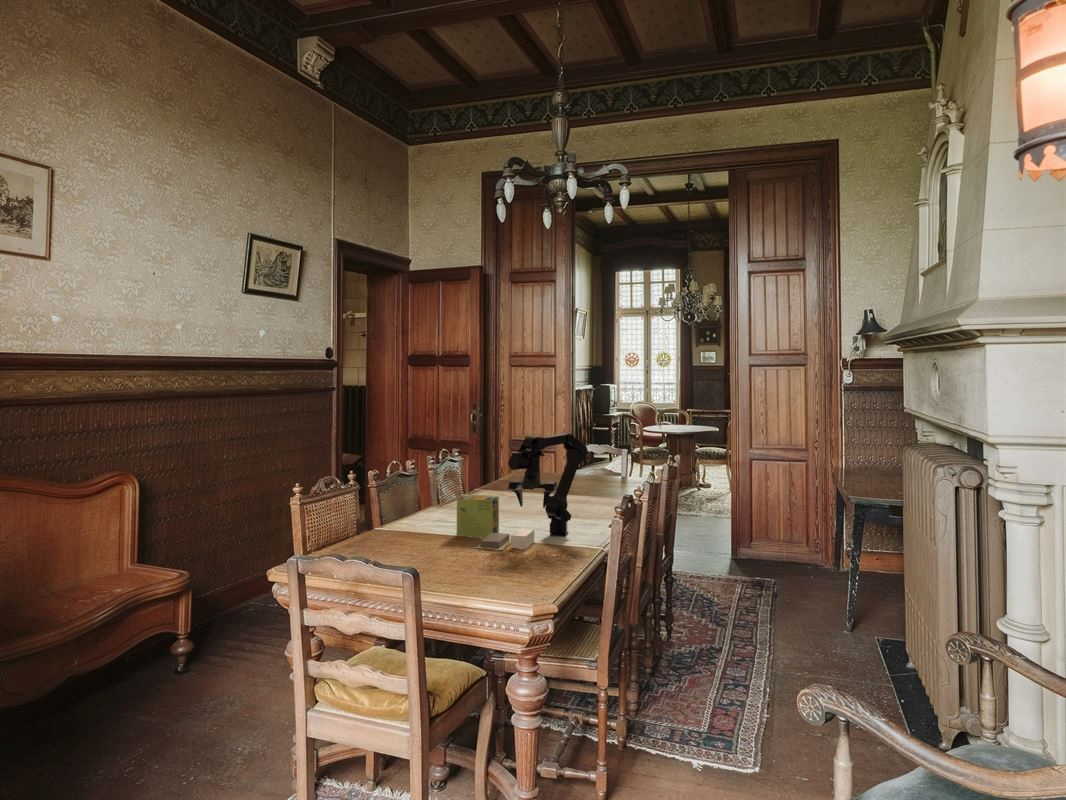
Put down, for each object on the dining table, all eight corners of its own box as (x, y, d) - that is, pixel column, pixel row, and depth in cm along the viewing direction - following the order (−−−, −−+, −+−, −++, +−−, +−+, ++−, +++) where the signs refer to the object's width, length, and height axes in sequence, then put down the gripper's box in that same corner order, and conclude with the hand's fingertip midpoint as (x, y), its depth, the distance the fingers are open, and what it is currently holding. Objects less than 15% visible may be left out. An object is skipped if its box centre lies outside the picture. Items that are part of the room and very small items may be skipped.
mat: (514, 540, 264) (514, 539, 264) (502, 550, 248) (502, 549, 248) (488, 538, 267) (488, 537, 267) (474, 548, 251) (474, 547, 251)
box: (534, 542, 262) (534, 529, 261) (525, 549, 250) (525, 536, 250) (519, 541, 263) (519, 528, 263) (510, 548, 252) (510, 535, 251)
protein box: (493, 538, 267) (493, 499, 267) (456, 536, 270) (456, 498, 270) (499, 532, 278) (499, 495, 277) (464, 530, 281) (463, 494, 280)
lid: (509, 540, 263) (509, 533, 263) (498, 548, 250) (498, 541, 250) (491, 538, 265) (491, 532, 265) (480, 547, 252) (480, 540, 252)
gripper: (504, 469, 259) (504, 510, 259) (550, 471, 254) (550, 512, 254) (512, 466, 269) (512, 504, 270) (557, 468, 264) (557, 507, 265)
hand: (532, 507), depth 264 cm, fingers open, 9 cm apart
